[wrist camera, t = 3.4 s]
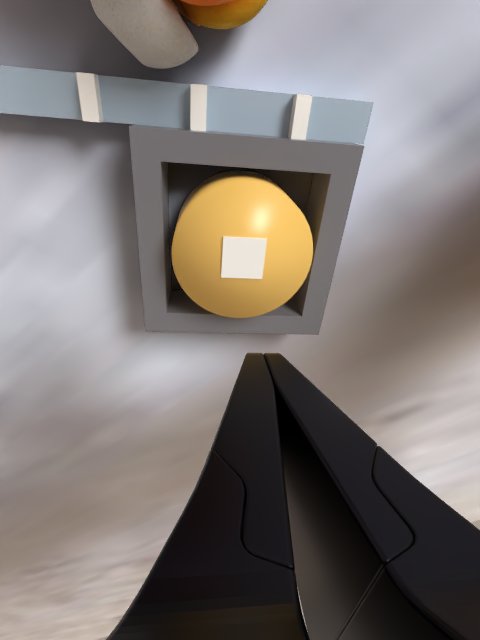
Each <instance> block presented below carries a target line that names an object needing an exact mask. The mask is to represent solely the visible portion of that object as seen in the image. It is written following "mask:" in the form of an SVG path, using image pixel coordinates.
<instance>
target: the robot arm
mask: <svg viewBox="0 0 480 640" xmlns="http://www.w3.org/2000/svg"><path fill="white" fill-rule="evenodd" d="M297 587H298V589H297ZM298 591H299V595H300V600H301V604H302V609H303V613H304V618H305V622H306V626H307V629H306V626H305V623H304V619H303V616H302V612H301V606H300V601H299V596H298ZM307 631H308V632H307ZM106 640H480V530H479V529H478V528H476V527H475V526H474V525H473V524H471V523H470V522H469V521H468V520H466V519H465V518H464V517H463V516H461V515H460V514H459V513H458V512H456V511H455V510H454V509H452V508H451V507H450V506H449V505H447V504H446V503H445V502H444V501H442V500H441V499H440V498H439V497H438V496H436V495H435V494H434V493H433V492H431V491H430V490H429V489H428V488H427V487H425V486H424V485H423V484H422V483H421V482H419V481H418V480H417V479H416V478H415V477H413V476H412V475H411V474H410V473H409V472H408V471H407V470H406V469H404V468H403V467H402V466H401V465H400V464H399V463H398V462H397V461H395V460H394V459H393V458H392V457H391V456H390V455H389V454H388V453H387V452H386V451H385V450H384V449H382V448H381V447H380V446H377V443H376V442H375V441H374V440H373V439H371V438H370V437H369V436H368V435H367V434H366V433H365V432H364V431H363V430H362V429H361V428H360V427H359V426H358V425H356V424H355V423H354V422H353V421H352V420H351V419H350V418H349V417H348V416H347V415H346V414H345V413H344V412H342V411H341V410H340V409H339V408H338V407H337V406H336V405H335V404H334V403H333V402H332V401H331V400H330V399H328V398H327V397H326V396H325V395H324V394H323V393H322V392H321V391H320V390H319V389H318V388H317V387H316V386H314V385H313V384H312V383H311V382H310V381H309V380H308V379H307V378H306V377H305V376H304V375H303V374H302V373H300V372H299V371H298V370H297V369H296V368H295V367H294V366H293V365H292V364H291V363H290V362H289V361H288V360H286V359H285V358H284V357H283V356H282V355H281V354H279V353H265V354H264V355H263V354H262V353H247V354H246V356H245V359H244V362H243V364H242V367H241V370H240V372H239V375H238V378H237V380H236V383H235V386H234V388H233V391H232V394H231V396H230V399H229V402H228V404H227V407H226V410H225V412H224V415H223V418H222V420H221V423H220V426H219V429H218V431H217V434H216V437H215V439H214V442H213V445H212V447H211V451H210V452H209V455H208V457H207V460H206V463H205V465H204V468H203V470H202V472H201V475H200V477H199V480H198V482H197V484H196V487H195V489H194V491H193V493H192V495H191V497H190V499H189V501H188V503H187V505H186V507H185V509H184V511H183V513H182V515H181V516H180V518H179V520H178V522H177V524H176V526H175V527H174V529H173V531H172V533H171V535H170V536H169V538H168V540H167V542H166V544H165V546H164V547H163V549H162V551H161V553H160V555H159V557H158V558H157V560H156V562H155V564H154V566H153V567H152V569H151V571H150V573H149V575H148V577H147V578H146V580H145V582H144V584H143V585H142V587H141V589H140V590H139V592H138V594H137V596H136V597H135V599H134V600H133V602H132V604H131V605H130V607H129V608H128V610H127V611H126V613H125V614H124V616H123V617H122V619H121V620H120V622H119V623H118V625H117V626H116V627H115V629H114V630H113V631H112V633H111V634H110V635H109V636H108V637H107V639H106Z"/></svg>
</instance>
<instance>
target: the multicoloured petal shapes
mask: <svg viewBox="0 0 480 640" xmlns="http://www.w3.org/2000/svg"><path fill="white" fill-rule="evenodd" d="M90 1H91V4H92V7H93V9H94V12H95V14H96V15H97V17H98V18H99V19H100V20H101V22H102V23H103V24H104V25H105V26H106V27H107V28H108V29H109V30H110V31H111V32H112V33H113V35H114V36H115V37H116V38H117V39H118V40H119V41H120V42H121V43H122V44H123V45H124V46H125V47H126V48H127V49H128V50H129V51H130V52H131V53H132V54H133V55H134V56H135V57H136V58H137V59H138V60H139V61H140V62H141V63H142V64H143V65H145V66H148V67H152V68H160V69H165V68H172V67H176V66H179V65H181V64H183V63H185V62H186V61H188V60H190V59H191V58H192V57H193V56H194V55H195V54H196V53H197V52H198V45H197V42H196V40H195V39H194V37H193V35H192V34H191V32H190V30H189V28H188V26H187V25H186V24H185V23H184V21H183V20H182V18H181V16H180V15H182V16H184V17H185V18H187V19H188V20H189V21H191V22H192V23H194V24H195V25H197V26H205V27H208V28H213V29H231V28H235V27H238V26H240V25H242V24H244V23H246V22H248V21H250V20H251V19H253V18H254V17H255V16H256V15H257V14H258V13H259V11H260V10H261V9H262V8H263V6H264V5H265V4H266V2H267V1H268V0H90Z"/></svg>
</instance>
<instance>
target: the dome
mask: <svg viewBox="0 0 480 640" xmlns="http://www.w3.org/2000/svg"><path fill="white" fill-rule="evenodd" d="M312 256H313V240H312V234H311V231H310V227H309V225H308V222H307V220H306V218H305V216H304V215H303V213H302V212H301V210H300V209H299V208H298V207H297V206H296V204H295V203H294V202H293V201H292V200H291V199H290V198H289V196H288V195H287V194H286V193H285V192H284V191H283V190H282V189H281V187H279V186H278V185H277V184H276V183H275V182H273V181H272V180H270V179H269V178H267V177H265V176H263V175H261V174H258V173H255V172H251V171H244V170H233V171H226V172H222V173H219V174H216V175H214V176H211V177H209V178H208V179H206V180H204V181H203V182H201V183H200V184H199V185H198V186H197V187H195V189H194V190H193V191H192V192H191V193H190V194H189V196H188V197H187V199H186V200H185V202H184V204H183V206H182V208H181V210H180V213H179V217H178V221H177V225H176V229H175V233H174V237H173V243H172V264H173V268H174V272H175V275H176V278H177V280H178V282H179V284H180V285H181V287H182V289H183V290H184V291H185V293H186V294H187V295H188V296H189V297H190V298H191V299H192V300H193V301H194V302H195V303H197V304H198V305H199V306H201V307H202V308H204V309H206V310H208V311H210V312H212V313H214V314H218V315H221V316H225V317H231V318H248V317H255V316H259V315H262V314H265V313H268V312H270V311H272V310H274V309H276V308H278V307H280V306H281V305H283V304H284V303H285V302H287V301H288V300H289V299H290V298H291V297H292V296H293V295H294V294H295V293H296V292H297V291H298V289H299V288H300V287H301V285H302V284H303V282H304V280H305V279H306V277H307V274H308V272H309V269H310V266H311V262H312Z"/></svg>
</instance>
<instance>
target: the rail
mask: <svg viewBox="0 0 480 640" xmlns="http://www.w3.org/2000/svg"><path fill="white" fill-rule="evenodd" d="M372 107H373V102H364V101H354V100H344V99H334V98H324V97H314V96H311V95H301V94H284V93H274V92H264V91H254V90H244V89H234V88H224V87H214V86H207V85H201V84H184V83H174V82H164V81H154V80H144V79H134V78H124V77H113V76H103V75H96V74H91V73H81V72H76V73H73V72H63V71H53V70H43V69H33V68H23V67H13V66H3V65H0V113H6V114H18V115H30V116H42V117H53V118H65V119H77V120H83V121H88V122H112V123H124V124H136V125H147V126H159V127H171V128H183V129H190V130H194V131H218V132H230V133H241V134H253V135H265V136H277V137H288V138H291V139H300V140H306V139H312V140H324V141H335V142H347V143H359V144H364V140H365V136H366V132H367V127H368V123H369V119H370V115H371V111H372Z"/></svg>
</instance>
